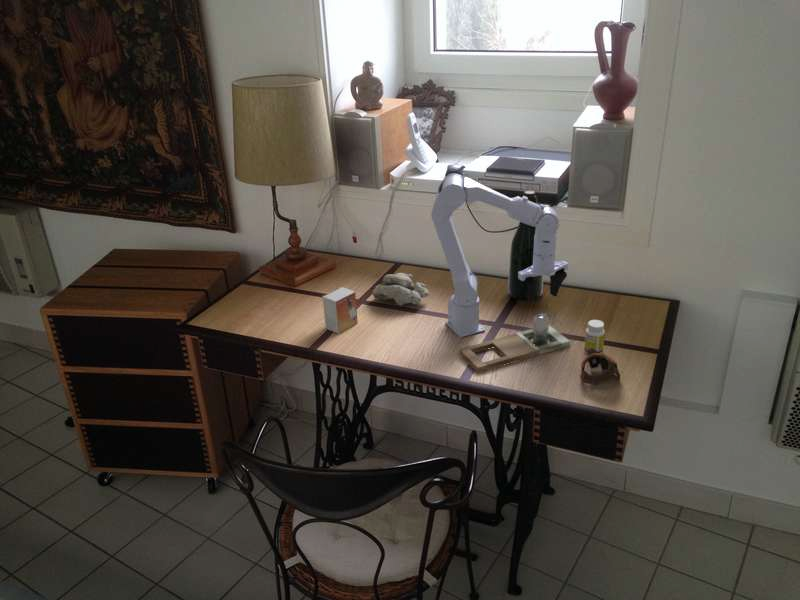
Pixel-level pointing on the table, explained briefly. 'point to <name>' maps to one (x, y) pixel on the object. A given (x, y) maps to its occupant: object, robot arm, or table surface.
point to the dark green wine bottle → (523, 257)
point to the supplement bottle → (595, 336)
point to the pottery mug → (594, 362)
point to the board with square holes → (512, 349)
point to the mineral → (400, 289)
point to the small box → (340, 310)
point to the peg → (540, 329)
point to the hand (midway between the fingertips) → (541, 298)
